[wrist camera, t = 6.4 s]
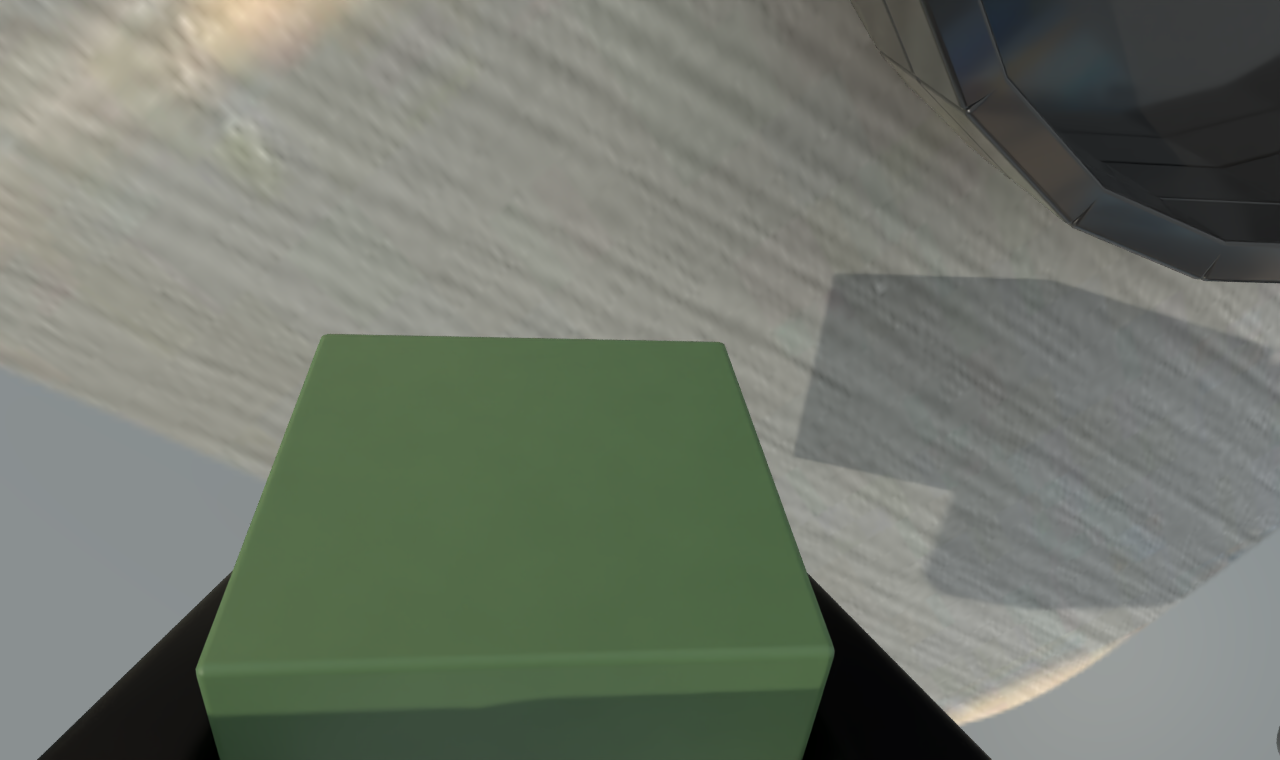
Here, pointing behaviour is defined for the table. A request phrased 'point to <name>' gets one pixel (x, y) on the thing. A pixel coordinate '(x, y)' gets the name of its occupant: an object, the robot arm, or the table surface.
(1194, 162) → the pan
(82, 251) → the table surface
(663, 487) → the block
